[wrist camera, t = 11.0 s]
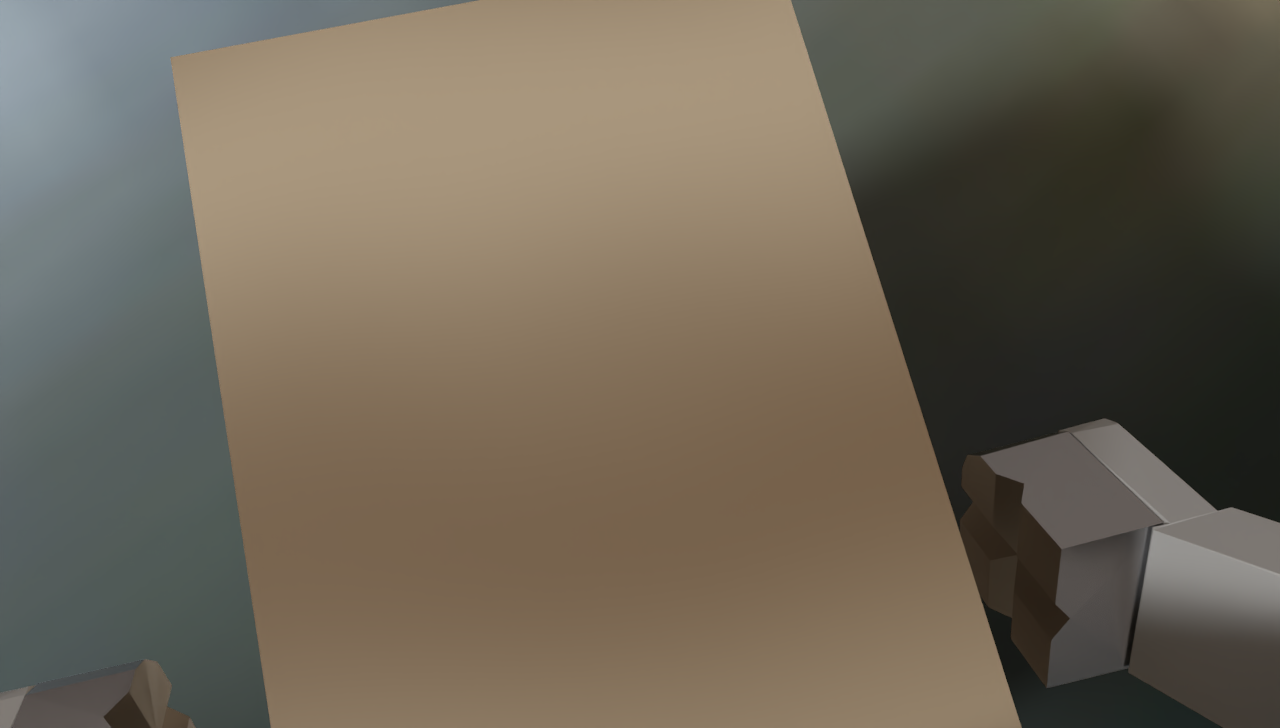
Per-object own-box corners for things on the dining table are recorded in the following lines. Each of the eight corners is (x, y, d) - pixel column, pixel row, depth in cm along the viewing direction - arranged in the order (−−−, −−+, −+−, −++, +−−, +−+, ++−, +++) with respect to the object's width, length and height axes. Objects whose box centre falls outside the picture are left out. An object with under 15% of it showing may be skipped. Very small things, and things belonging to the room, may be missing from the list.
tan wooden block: (848, 913, 15) (1210, 1324, 6) (516, 1009, 14) (402, 1605, 6) (681, 287, 17) (773, -55, 8) (389, 351, 17) (170, 56, 8)
